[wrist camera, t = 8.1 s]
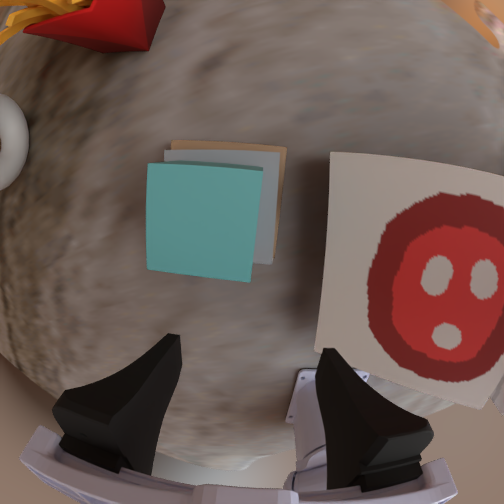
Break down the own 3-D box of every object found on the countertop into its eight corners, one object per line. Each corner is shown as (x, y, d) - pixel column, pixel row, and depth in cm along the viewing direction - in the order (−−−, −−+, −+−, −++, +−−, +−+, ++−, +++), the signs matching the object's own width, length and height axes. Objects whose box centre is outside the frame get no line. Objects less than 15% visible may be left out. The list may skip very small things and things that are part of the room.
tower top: (270, 251, 20) (271, 264, 18) (176, 245, 20) (165, 257, 18) (277, 153, 18) (279, 152, 15) (176, 150, 18) (164, 150, 15)
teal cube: (253, 247, 17) (250, 282, 13) (175, 238, 17) (147, 269, 13) (262, 167, 16) (263, 171, 11) (179, 160, 16) (147, 163, 11)
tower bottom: (273, 247, 23) (274, 258, 20) (177, 238, 23) (167, 248, 20) (283, 148, 20) (286, 147, 18) (181, 141, 20) (171, 140, 18)
